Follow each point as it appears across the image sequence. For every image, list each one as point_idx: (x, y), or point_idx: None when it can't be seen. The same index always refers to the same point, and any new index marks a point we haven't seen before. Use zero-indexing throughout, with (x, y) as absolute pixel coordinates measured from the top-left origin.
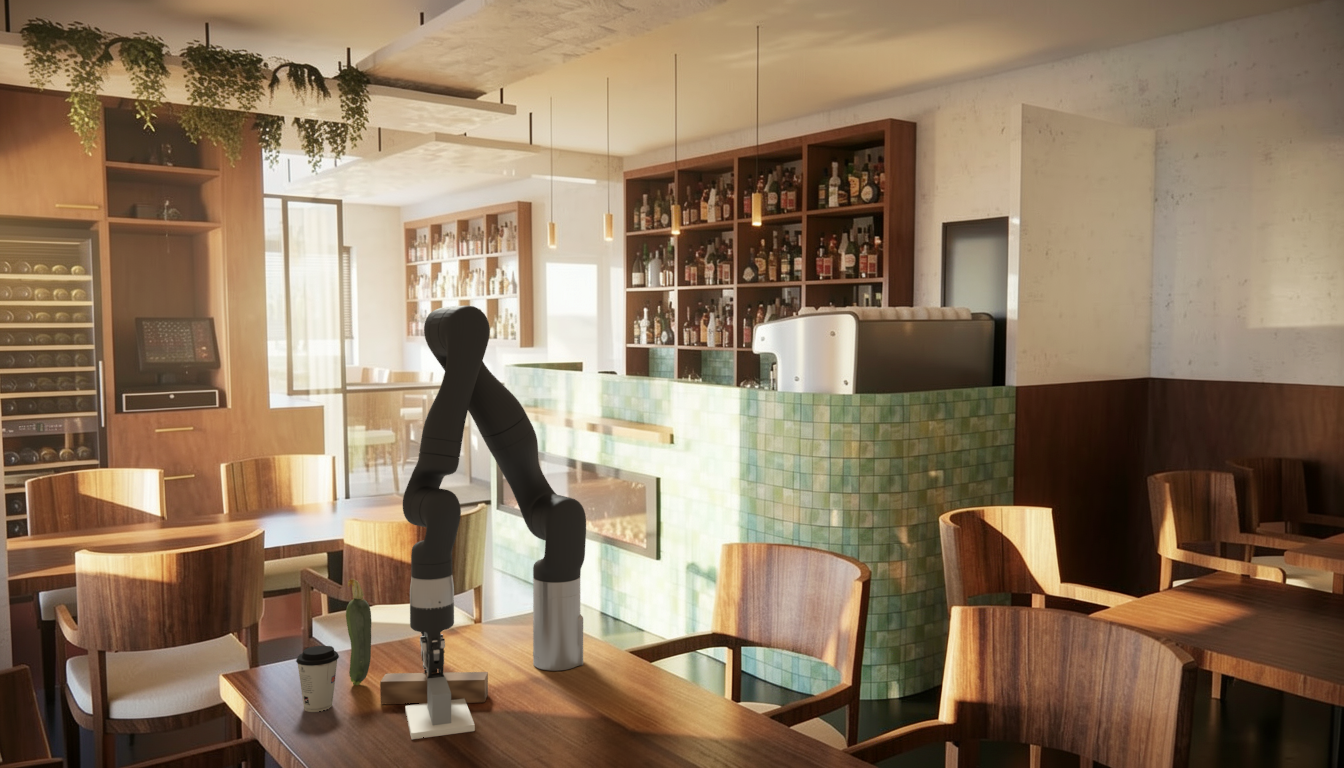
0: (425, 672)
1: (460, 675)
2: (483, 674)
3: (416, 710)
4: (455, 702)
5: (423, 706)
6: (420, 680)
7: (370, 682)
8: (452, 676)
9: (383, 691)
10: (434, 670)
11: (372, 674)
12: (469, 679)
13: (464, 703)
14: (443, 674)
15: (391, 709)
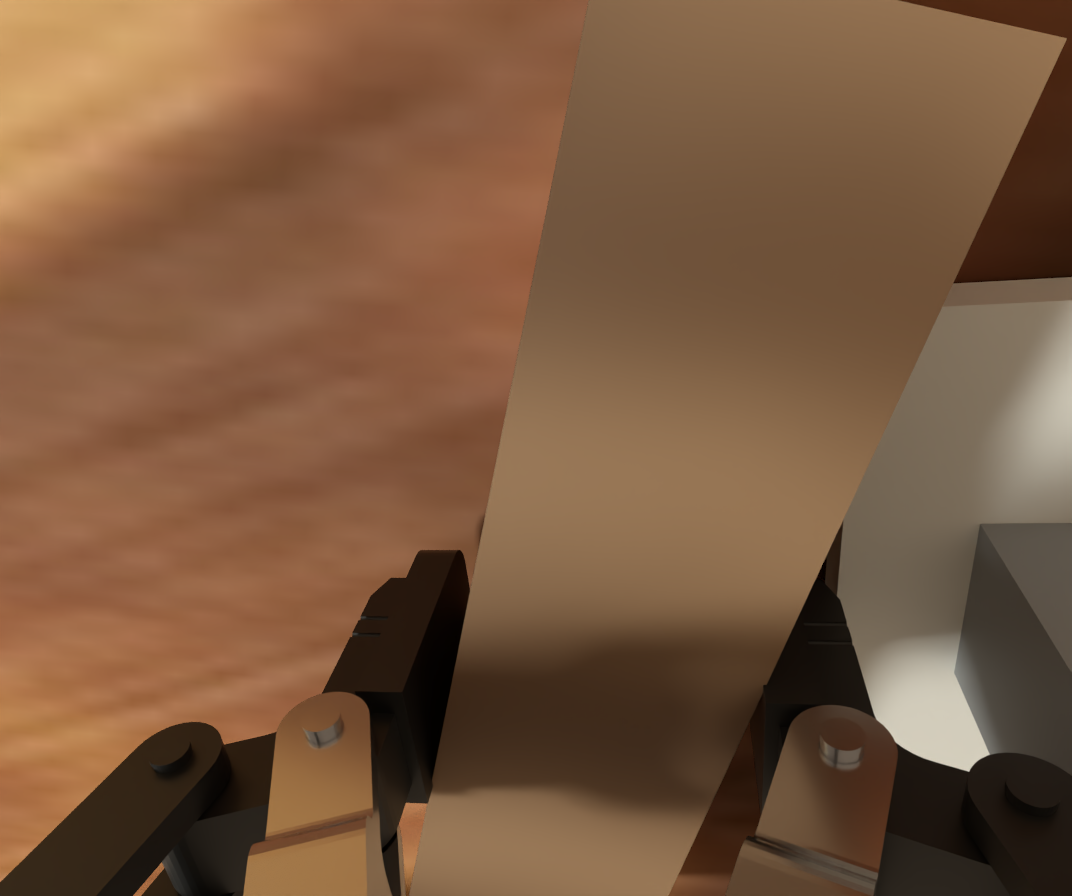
0: (431, 784)
1: (652, 440)
2: (728, 42)
3: (988, 754)
4: (946, 419)
5: (910, 697)
6: (677, 848)
7: (160, 872)
8: (658, 543)
9: None
10: (412, 717)
11: (12, 849)
12: (898, 324)
13: (1043, 325)
14: (1044, 810)
15: (720, 830)
